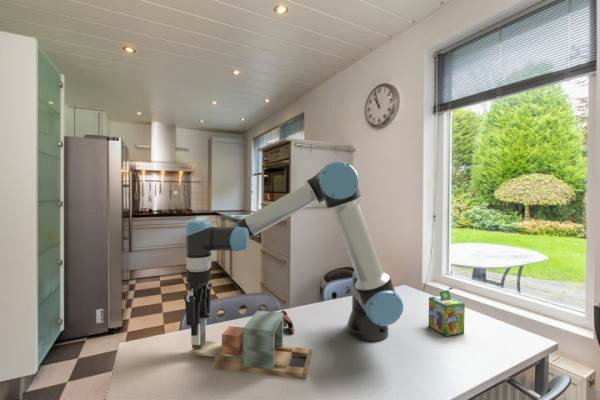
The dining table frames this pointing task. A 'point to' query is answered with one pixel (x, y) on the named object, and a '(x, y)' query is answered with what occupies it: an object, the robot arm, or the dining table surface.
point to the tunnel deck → (267, 350)
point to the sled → (220, 343)
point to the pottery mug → (287, 321)
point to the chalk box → (446, 314)
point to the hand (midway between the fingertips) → (198, 341)
